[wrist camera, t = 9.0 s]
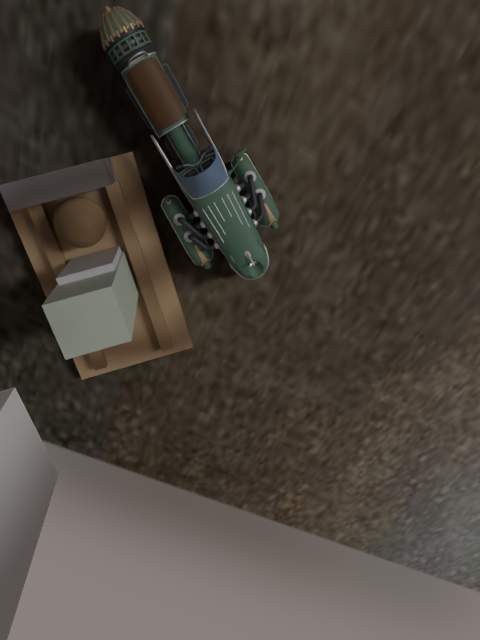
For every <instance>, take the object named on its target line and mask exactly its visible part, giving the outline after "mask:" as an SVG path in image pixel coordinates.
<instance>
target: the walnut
mask: <svg viewBox="0 0 480 640" xmlns="http://www.w3.org/2000/svg"><path fill="white" fill-rule="evenodd" d="M53 224H54V228H55V231H56V233H57V235H58V236H59V237H60V239H61V240H62V241H64V242H65V243H66V244H68V245H70V246H73V247H77V248H86V247H90V246H93V245H95V244H96V243H98V242H99V241H100V240H101V239H102V237H103V236H104V234H105V231H106V225H107V224H106V217H105V214H104V212H103V210H102V209H101V207H100V206H99V205H98V204H97V203H95V202H94V201H92V200H91V199H88V198H85V197H79V196H78V197H71V198H68V199H66V200H64V201H63V202H61V203H60V204H59V205H58V207H57V208H56V210H55V212H54V216H53Z"/></svg>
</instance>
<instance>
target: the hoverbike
mask: <svg viewBox="0 0 480 640" xmlns="http://www.w3.org/2000/svg"><path fill="white" fill-rule="evenodd" d="M105 9H106V14H105V13H104V14H103V16H101V17H100V24H99V32H100V38H101V44H102V47H103V49H104V50H105V52H106V53H107V54H108V56H109V57H110V59H111V61H112V63H113V64H114V66H115V70H117V71H118V72H120V73H121V75H122V77H123V78H124V80H125V82H126V84H127V85H128V86H127V87H126V88H125V89H126V92H127V93H128V95H129V97H130V98H131V100H132V102H133V103H134V105H135V107H136V109H137V110H138V112H139V114H140V115H141V117H142V119H143V121H144V122H145V124H146V126H147V127H148V128H149V129H151V128H153V130H154V132H155V133H156V135H157V137H158V138H160V137H161V136H163V135H166V136H167V138H165V139H164V140H163V141H164V143H165V145H166V147H167V149H168V150H169V152H170V154H171V155H172V157H173V158H177V157H179V159H180V161H181V162H182V164H179V165H177V166H176V169H178V170H179V173H177V172H176V171H175V170H174V169H173V168H172V166H171V164H170V163H169V161H168V159H167V158H166V156H165V154H164V153H163V151H162V149H161V148H160V146H159V144H158V143H157V141H156V139H155V138H154V136H153V135H151V136H150V137H151V138H152V140H153V142H154V144H155V145H156V147H157V149H158V150H159V152H160V154H161V155H162V157H163V159H164V160H165V162H166V164H167V166H168V167H169V169H170V171H171V172H172V174H173V176H174V177H175V179H176V181H177V182H178V184H179V186H180V188H181V189H182V191H183V193H184V194H185V196H186V197H187V199H188V201H189V202H190V204H191V205H192V207H193V208H194V210H193V212H189V213H188V212H187V210H186V209H185V207H184V206H183V204H182V203H181V201H180V200H179V198H178V197H177V196H175V195H168V196H165V197H164V198H163V200H162V202H161V207H162V209H163V211H164V213H165V215H166V217H167V218H168V220H169V222H170V224H171V226H172V227H173V229H174V231H175V233H176V235H177V236H178V238H179V240H180V242H181V244H182V245H183V247H184V249H185V251H186V252H187V254H188V255H189V257H190V258H191V260H192V261H193V263H194V264H195V265H199V266H200V265H201V266H204V268H205V269H209V268H210V267H211V266H212V264H211V260H212V258H213V255H214V253H213V250H215V249H220V250H221V252H222V253H223V255H224V256H225V257H226V260H227V261H228V263H229V267H230V268H231V269H232V270H234V271H235V272H236V273H237V274H238V275H239V276H240V277H242V278H244V279H248V280H253V279H257V278H259V277H261V276H262V275H263V274H264V273H265V272H266V270H267V268H268V265H269V256H268V252H267V249H266V246H265V244H264V243H263V242H262V240H261V237H260V235H259V233H258V231H257V229H256V226H257V225H258V224H259V225H260V226H262V227H268V226H271V228H272V229H276V228H277V227H278V224H277V221H278V218H279V211H278V209H277V207H276V204H275V202H274V200H273V198H272V196H271V194H270V192H269V191H268V189H267V187H266V186H265V184H264V182H263V180H262V179H261V177H260V175H259V174H258V172H257V170H256V168H255V167H254V165H253V163H252V162H251V160H250V158H249V156H248V155H247V154H246V153H244V152H245V150H246V148H245V149H243V150H241V151H239V152H238V153H236V154H234V155H233V157H232V159H231V162H230V164H231V168H232V169H231V170H229V171H227V169H226V167H225V165H224V163H223V161H222V159H221V157H220V155H219V153H218V151H217V149H216V147H215V145H214V144H213V142H212V140H211V138H210V136H209V134H208V132H207V130H206V129H205V127H204V125H203V123H202V121H201V119H200V117H199V115H198V114H197V111H196V109H193V112H194V114H195V116H196V118H197V120H198V122H199V124H200V126H201V128H202V130H203V131H204V133H205V135H206V137H207V139H208V141H209V143H210V145H211V146H212V148H213V150H214V151H213V150H211V149H212V148H211V147H210V146H209V147H208V148H207V149H206V150H205V149H204V150H202V151H201V152H200V153H201V154H200V153H199V151H198V149H197V147H196V146H197V145H198V141H197V139H196V137H195V135H194V133H193V131H192V130H191V128H190V126H189V125H187V126H184V124H183V123H184V122H186V121H188V120H190V119H191V117H189V115H188V113H187V111H186V109H185V108H186V107H187V106H188V105H189V104H188V101H187V99H186V98H185V96H184V94H183V92H182V90H181V88H180V86H179V85H178V83H177V81H176V79H175V77H174V75H173V73H172V72H171V70H170V68H169V66H168V64H167V63H165V64H163V65H161V63H160V61H159V59H158V57H157V56H156V52H155V48H154V44H153V43H152V42H151V40H150V38H149V37H148V35H147V33H146V31H145V28H144V26H143V24H142V22H141V20H139V19H138V18H137V17H136V16H135V15H133V14H132V13H131V12H130V11H128V10H126V9H124V8H121V7H119V6H116V8H115V7H113V10H112V9H110V8H109V7H108V6H105ZM210 150H211V151H210ZM209 151H210V152H209ZM201 155H202V156H201ZM184 167H185V168H184ZM232 172H233V174H235V175H236V177H237V179H238V181H239V183H238V184H236V185H235V184H234V182H233V180H232V178H231V176H230V175H231V173H232ZM240 190H242V191H240ZM247 201H248V202H249V204H250V206H251V207H250V208H247V207H245V205H244V204H246V202H247ZM243 202H244V203H243ZM252 212H253V213H254V217H255V219H251V217H250V216H251V214H252ZM196 217H197V218H196ZM194 218H195V219H194ZM193 219H194V220H193ZM201 228H206V229H207V230H208V232H207V234H202V233H201V231H200V230H199V229H201ZM209 238H212V239H213V240H214V244H213V245H209V243H208V242H207V241H206V239H209Z"/></svg>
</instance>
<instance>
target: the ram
mask: <svg viewBox="0 0 480 640" xmlns="http://www.w3.org/2000/svg"><path fill="white" fill-rule="evenodd" d="M56 281H57V283H58V284H57V286H56V287H55V288H54V290H53V291H52V292H51V294H50V295H49V296H48V298H47V299H46V300H45V302H44V303H43V304H42V308H43V310H44V312H45V315H46V317H47V319H48V321H49V324H50V326H51V328H52V330H53V333H54V335H55V337H56V339H57V342H58V344H59V346H60V349H61V351H62V353H63V355H64V358H65V360H67V359H70V358H74V357H77V356H81V355H84V354H88V353H91V352H95V351H98V350H102V349H105V348H109V347H112V346H115V345H119V344H122V343H126V342H129V341H132V336H133V329H134V322H135V315H136V308H137V301H138V294H139V293H138V290H137V287H136V284H135V281H134V278H133V275H132V272H131V270H130V267H129V264H128V261H127V258H126V255H125V252H124V251H121V248H120V246H117V247H113V248H109V249H106V250H102V251H98V252H95V253H91V254H87V255H84V256H80V257H76V258H73V259H71V260H70V261H69V263H68V264H67V265H66V266H65V268H64V269H63V270H62V271H61V273H60V274H59V275H58V276H57V278H56Z"/></svg>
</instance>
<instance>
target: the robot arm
mask: <svg viewBox="0 0 480 640" xmlns="http://www.w3.org/2000/svg"><path fill="white" fill-rule="evenodd" d="M57 478H58V472H57V470H56V468H55V466H54V464H53V462H52V460H51V458H50V456H49V454H48V452H47V450H46V448H45V446H44V444H43V442H42V440H41V438H40V436H39V434H38V432H37V430H36V428H35V426H34V424H33V422H32V420H31V418H30V416H29V414H28V412H27V410H26V408H25V406H24V404H23V402H22V401H21V399H20V397H19V395H18V393H17V391H16V389H15V387H14V388H10V389H7V390H3V391H0V640H7V638H8V635H9V632H10V628H11V625H12V622H13V619H14V616H15V612H16V609H17V606H18V603H19V600H20V596H21V593H22V590H23V587H24V584H25V580H26V577H27V574H28V571H29V567H30V564H31V561H32V558H33V554H34V551H35V548H36V545H37V542H38V539H39V535H40V532H41V529H42V526H43V523H44V519H45V516H46V513H47V510H48V506H49V503H50V500H51V496H52V494H53V490H54V487H55V484H56V481H57Z"/></svg>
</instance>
